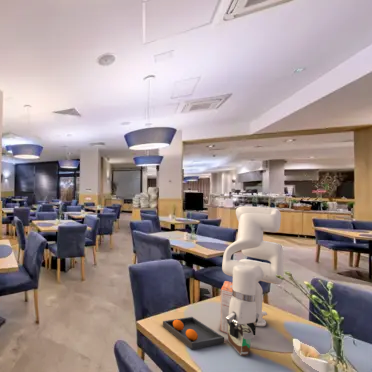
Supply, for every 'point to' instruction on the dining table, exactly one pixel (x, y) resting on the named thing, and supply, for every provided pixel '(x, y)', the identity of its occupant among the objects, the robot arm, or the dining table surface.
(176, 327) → the clementine
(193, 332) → the clementine
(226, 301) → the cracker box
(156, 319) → the dining table surface
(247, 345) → the food container
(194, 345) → the fruit tray
